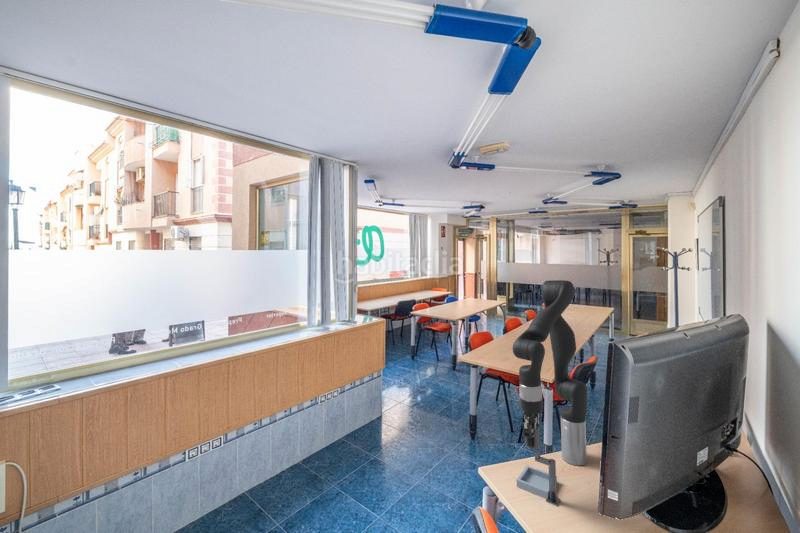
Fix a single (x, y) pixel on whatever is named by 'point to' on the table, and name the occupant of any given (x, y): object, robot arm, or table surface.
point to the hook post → (552, 477)
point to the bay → (534, 481)
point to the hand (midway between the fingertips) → (533, 443)
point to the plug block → (535, 438)
